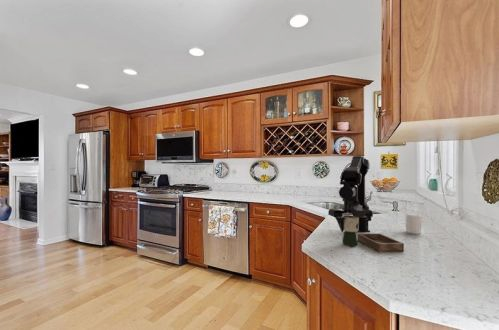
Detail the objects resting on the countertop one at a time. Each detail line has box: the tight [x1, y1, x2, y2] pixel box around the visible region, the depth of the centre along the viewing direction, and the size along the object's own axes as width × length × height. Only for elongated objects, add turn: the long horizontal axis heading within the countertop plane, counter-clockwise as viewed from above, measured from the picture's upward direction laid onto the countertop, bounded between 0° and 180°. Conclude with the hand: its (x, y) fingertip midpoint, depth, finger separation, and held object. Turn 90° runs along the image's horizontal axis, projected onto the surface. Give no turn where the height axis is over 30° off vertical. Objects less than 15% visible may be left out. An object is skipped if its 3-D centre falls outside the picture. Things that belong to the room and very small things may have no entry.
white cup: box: [404, 212, 423, 235], centre depth 137 cm, size 8×8×10 cm
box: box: [356, 232, 405, 253], centre depth 111 cm, size 12×16×4 cm
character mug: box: [342, 215, 359, 247], centre depth 111 cm, size 11×7×13 cm, turn 161°
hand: (350, 231), depth 111 cm, fingers closed on character mug, 7 cm apart
